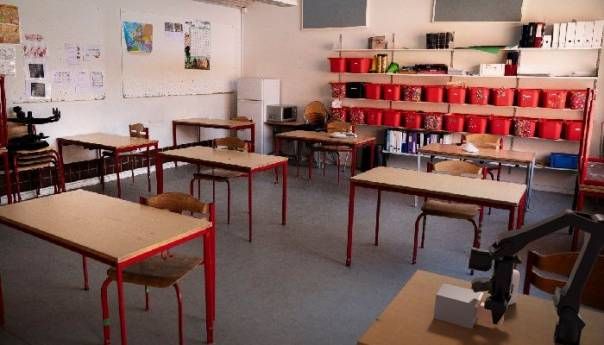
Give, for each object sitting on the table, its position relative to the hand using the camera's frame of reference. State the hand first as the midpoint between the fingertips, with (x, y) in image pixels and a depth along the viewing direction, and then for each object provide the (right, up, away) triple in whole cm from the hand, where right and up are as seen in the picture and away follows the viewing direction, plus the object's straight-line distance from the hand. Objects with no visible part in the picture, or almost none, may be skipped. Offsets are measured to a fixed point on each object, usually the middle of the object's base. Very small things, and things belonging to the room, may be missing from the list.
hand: (496, 320), depth 156 cm
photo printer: (+9, +1, +17) cm, 19 cm away
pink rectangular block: (-5, 0, +3) cm, 6 cm away
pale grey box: (-11, -1, +6) cm, 12 cm away
